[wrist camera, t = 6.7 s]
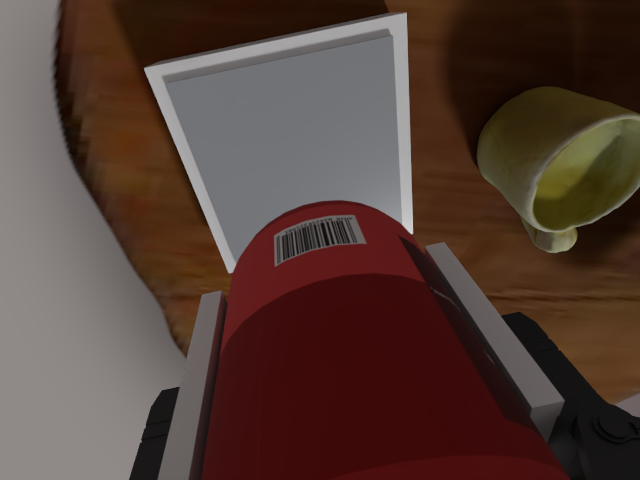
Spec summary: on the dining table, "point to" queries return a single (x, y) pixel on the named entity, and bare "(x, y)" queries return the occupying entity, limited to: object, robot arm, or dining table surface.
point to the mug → (561, 160)
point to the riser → (292, 124)
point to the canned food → (358, 364)
